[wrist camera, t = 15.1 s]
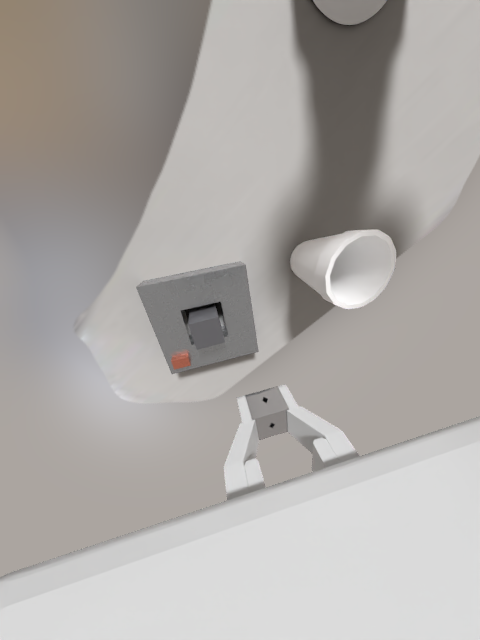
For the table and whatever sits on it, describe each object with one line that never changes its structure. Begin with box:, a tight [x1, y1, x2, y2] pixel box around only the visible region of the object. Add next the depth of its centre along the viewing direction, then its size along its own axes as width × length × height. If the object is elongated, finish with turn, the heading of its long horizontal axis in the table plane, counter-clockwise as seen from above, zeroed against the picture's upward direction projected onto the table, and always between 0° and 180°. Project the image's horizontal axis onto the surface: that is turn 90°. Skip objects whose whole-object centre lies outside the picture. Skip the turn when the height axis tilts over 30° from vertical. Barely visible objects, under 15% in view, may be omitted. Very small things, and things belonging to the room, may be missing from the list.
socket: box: [136, 262, 258, 374], centre depth 33 cm, size 16×16×5 cm
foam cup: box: [290, 229, 396, 309], centre depth 29 cm, size 10×9×13 cm
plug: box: [188, 304, 225, 350], centre depth 32 cm, size 4×4×8 cm
